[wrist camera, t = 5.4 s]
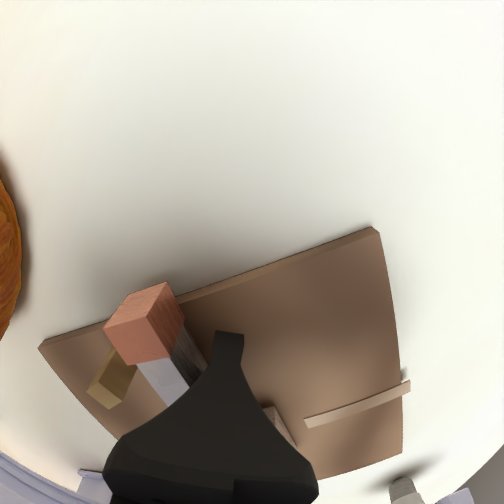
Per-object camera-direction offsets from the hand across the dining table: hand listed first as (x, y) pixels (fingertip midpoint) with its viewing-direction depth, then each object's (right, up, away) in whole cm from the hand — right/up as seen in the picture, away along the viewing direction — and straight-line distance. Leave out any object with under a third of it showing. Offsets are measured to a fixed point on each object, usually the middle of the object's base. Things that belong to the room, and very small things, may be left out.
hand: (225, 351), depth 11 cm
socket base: (+1, -6, +4) cm, 7 cm away
